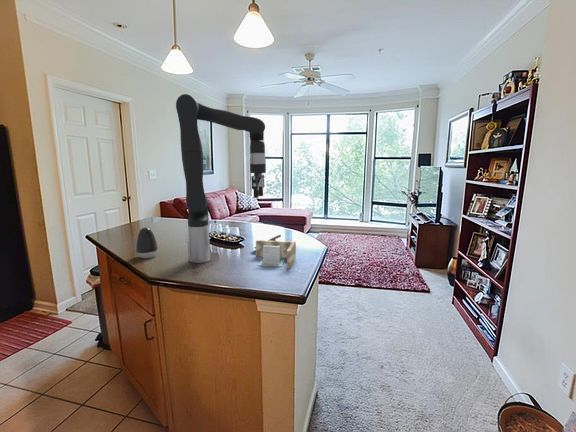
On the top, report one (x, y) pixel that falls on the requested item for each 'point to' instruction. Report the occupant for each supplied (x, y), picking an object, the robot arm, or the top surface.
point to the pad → (273, 266)
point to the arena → (286, 249)
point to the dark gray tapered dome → (146, 243)
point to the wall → (273, 239)
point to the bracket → (271, 255)
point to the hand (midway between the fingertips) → (258, 197)
